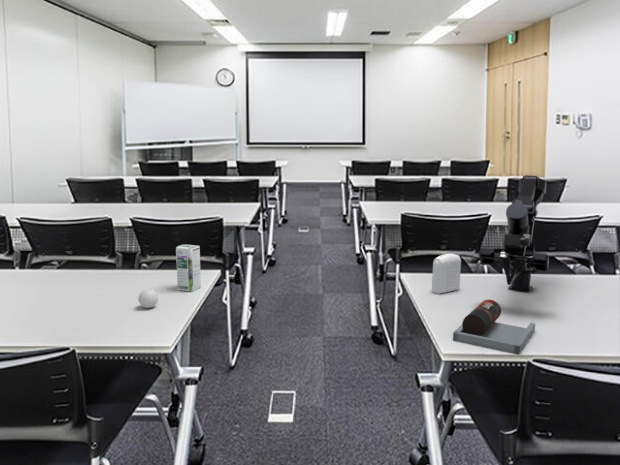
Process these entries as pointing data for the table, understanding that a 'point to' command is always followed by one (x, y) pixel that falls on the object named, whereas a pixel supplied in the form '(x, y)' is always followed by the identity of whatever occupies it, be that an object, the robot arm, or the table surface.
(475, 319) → the deodorant
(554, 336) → the table surface
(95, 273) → the table surface
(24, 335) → the table surface
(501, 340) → the tray
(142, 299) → the white bumpy ovoid
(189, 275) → the syrup box
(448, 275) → the photo printer
